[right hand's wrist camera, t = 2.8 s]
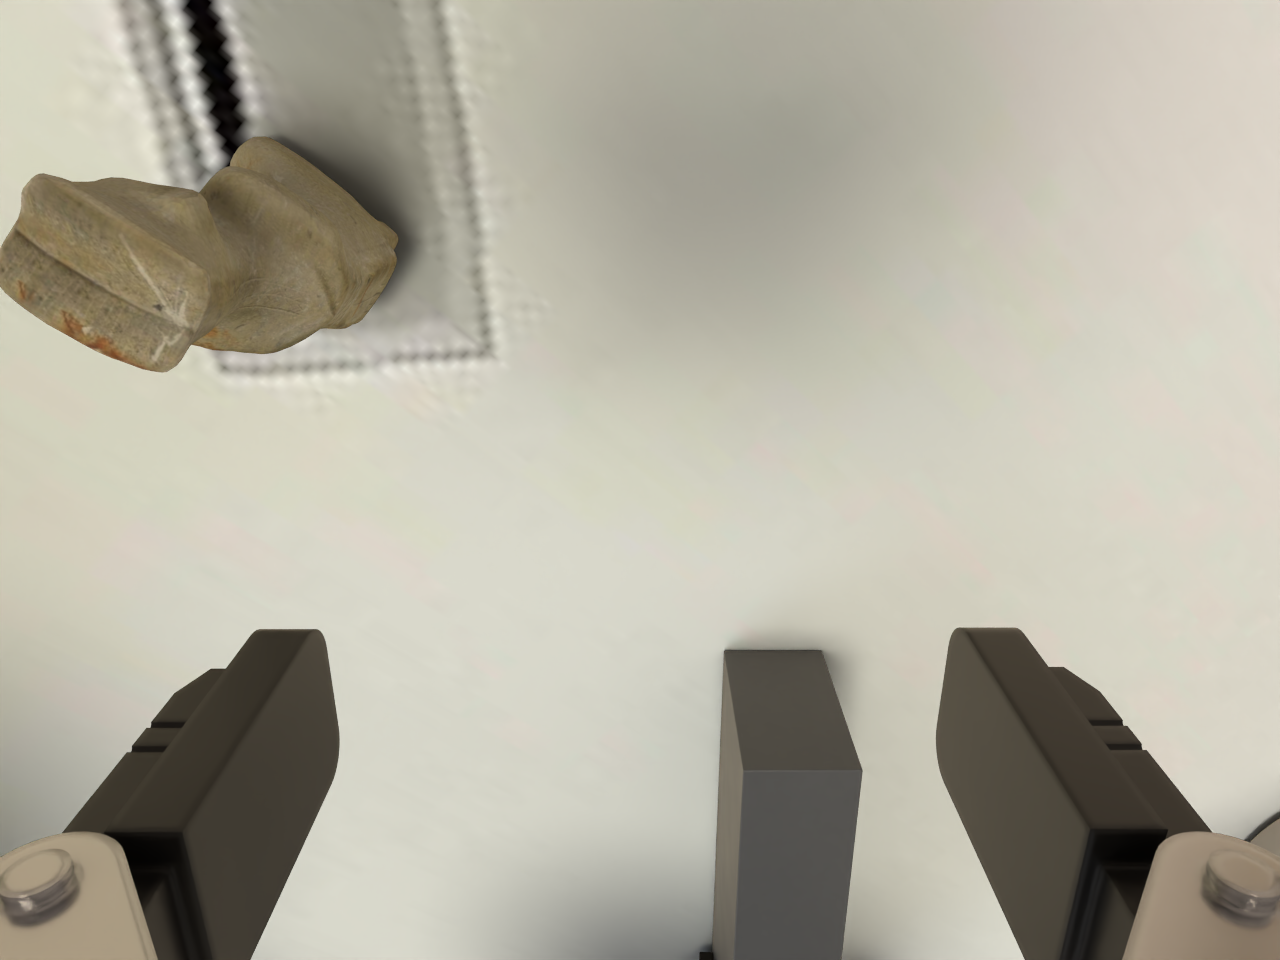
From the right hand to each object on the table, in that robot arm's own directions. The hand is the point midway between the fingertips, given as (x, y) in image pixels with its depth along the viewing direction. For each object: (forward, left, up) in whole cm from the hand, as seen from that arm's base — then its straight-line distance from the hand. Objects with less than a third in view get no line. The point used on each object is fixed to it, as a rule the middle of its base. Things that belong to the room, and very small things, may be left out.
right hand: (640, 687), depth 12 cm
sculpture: (+4, -12, -28) cm, 31 cm away
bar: (+22, +20, -28) cm, 41 cm away
